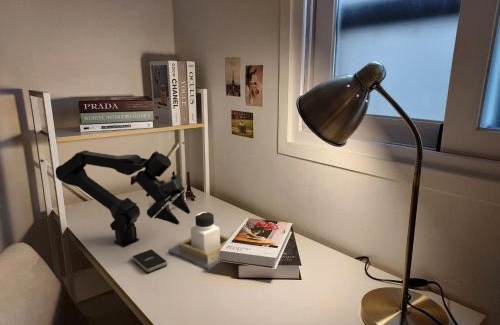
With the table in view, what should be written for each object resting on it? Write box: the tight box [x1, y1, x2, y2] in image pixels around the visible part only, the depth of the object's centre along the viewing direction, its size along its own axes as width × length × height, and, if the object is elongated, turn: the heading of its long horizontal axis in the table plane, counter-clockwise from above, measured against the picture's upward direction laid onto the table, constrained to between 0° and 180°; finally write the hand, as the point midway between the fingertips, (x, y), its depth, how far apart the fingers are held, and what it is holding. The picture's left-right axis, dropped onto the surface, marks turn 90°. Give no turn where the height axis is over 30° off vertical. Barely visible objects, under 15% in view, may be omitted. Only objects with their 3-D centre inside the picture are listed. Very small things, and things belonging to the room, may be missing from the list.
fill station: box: [168, 234, 229, 270], centre depth 120 cm, size 18×18×3 cm
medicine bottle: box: [190, 211, 221, 252], centre depth 118 cm, size 7×7×12 cm
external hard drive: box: [131, 248, 168, 275], centre depth 112 cm, size 7×11×2 cm, turn 42°
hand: (184, 218), depth 119 cm, fingers open, 9 cm apart
